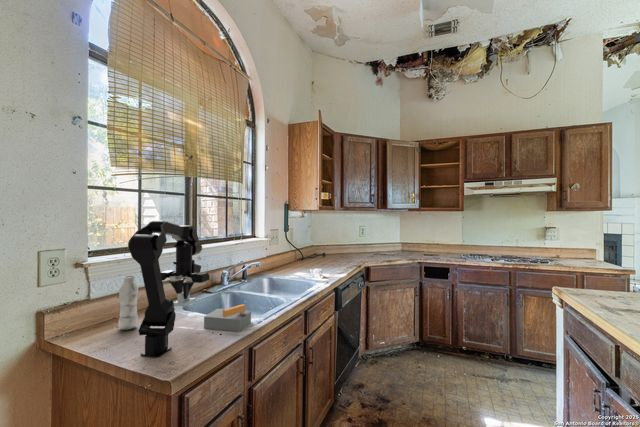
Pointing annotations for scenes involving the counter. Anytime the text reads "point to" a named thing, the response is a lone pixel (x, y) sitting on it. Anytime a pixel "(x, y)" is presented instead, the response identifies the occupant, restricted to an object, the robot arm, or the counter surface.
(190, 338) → the counter surface
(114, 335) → the counter surface
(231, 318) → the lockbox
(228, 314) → the orange square pillar
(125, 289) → the plastic bottle
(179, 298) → the cover
